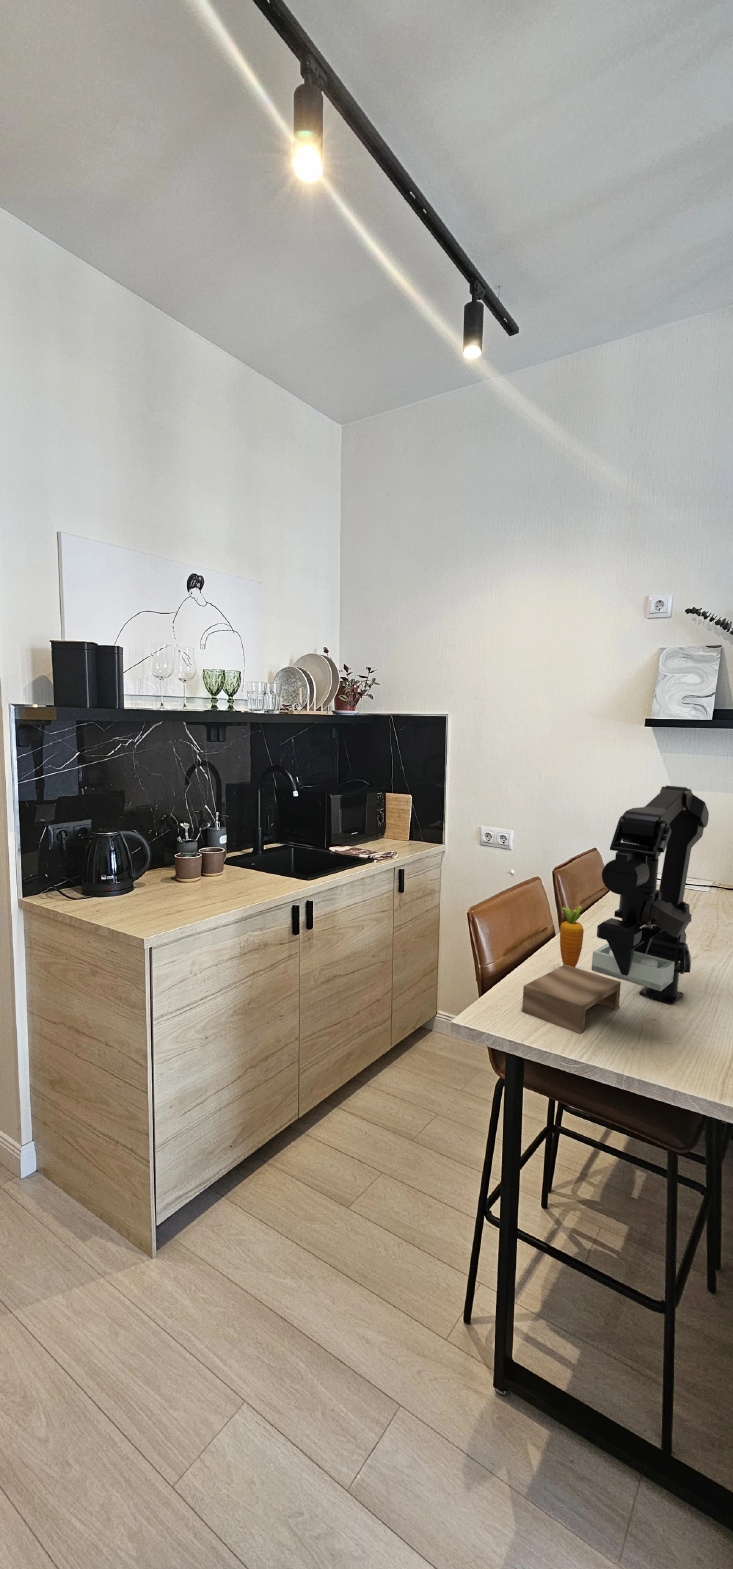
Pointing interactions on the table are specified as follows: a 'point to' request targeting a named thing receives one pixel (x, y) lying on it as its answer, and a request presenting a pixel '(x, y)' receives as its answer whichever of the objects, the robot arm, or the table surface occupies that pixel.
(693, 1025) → the table surface
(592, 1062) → the table surface
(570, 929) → the carrot
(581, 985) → the walnut shelf
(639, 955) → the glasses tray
